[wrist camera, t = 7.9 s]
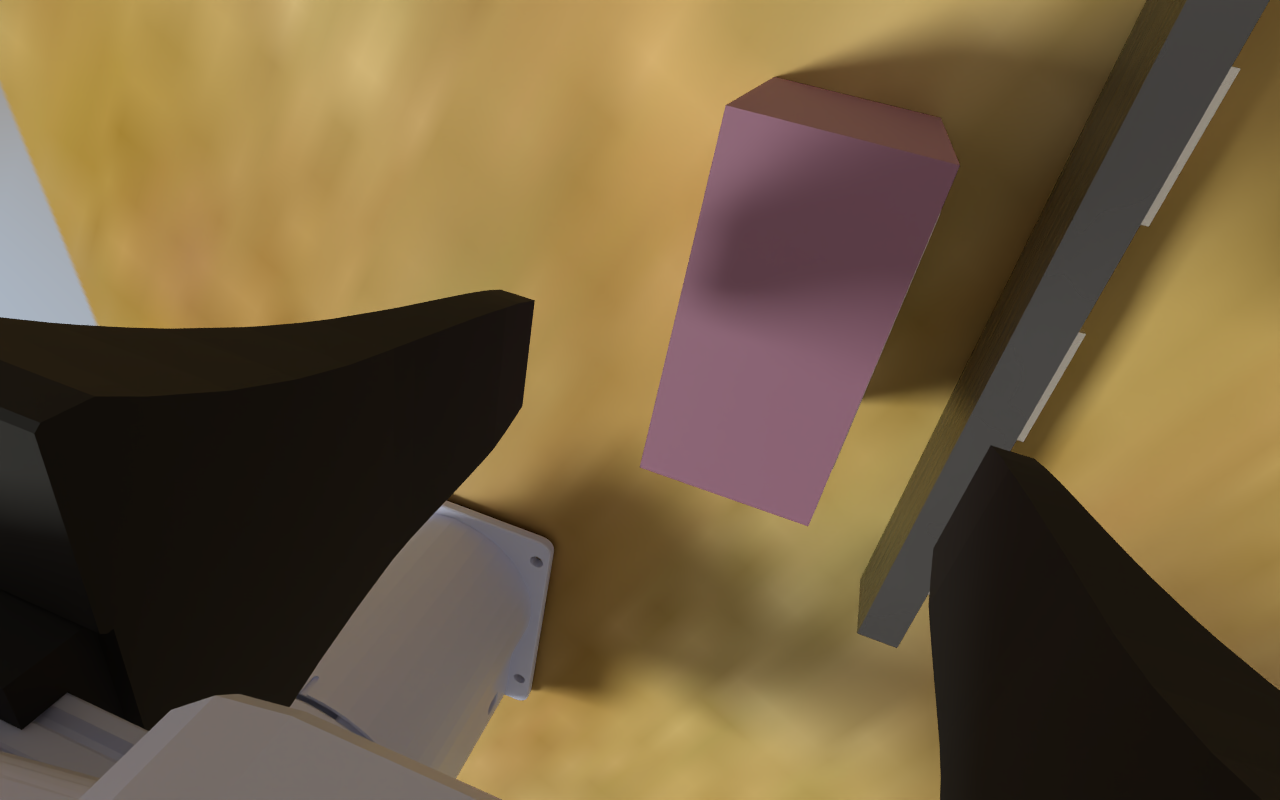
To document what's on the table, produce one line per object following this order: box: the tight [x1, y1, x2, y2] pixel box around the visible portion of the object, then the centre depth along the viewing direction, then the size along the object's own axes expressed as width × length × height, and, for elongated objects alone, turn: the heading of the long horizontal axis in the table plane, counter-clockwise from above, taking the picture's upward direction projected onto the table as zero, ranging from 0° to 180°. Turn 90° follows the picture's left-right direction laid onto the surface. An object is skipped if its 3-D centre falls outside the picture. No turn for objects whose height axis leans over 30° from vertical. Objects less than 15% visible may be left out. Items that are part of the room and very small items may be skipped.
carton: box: [640, 77, 960, 526], centre depth 17 cm, size 4×8×6 cm, turn 169°
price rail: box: [857, 0, 1270, 648], centre depth 17 cm, size 18×2×2 cm, turn 169°
